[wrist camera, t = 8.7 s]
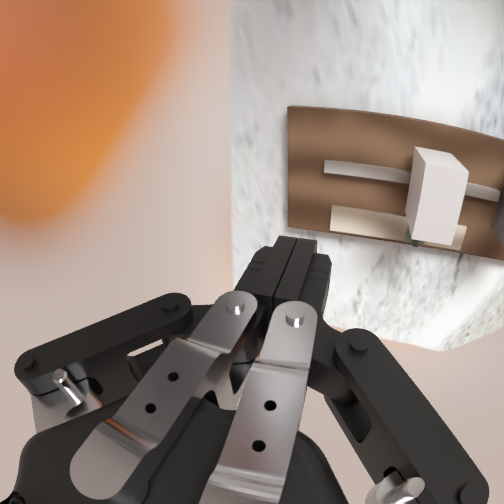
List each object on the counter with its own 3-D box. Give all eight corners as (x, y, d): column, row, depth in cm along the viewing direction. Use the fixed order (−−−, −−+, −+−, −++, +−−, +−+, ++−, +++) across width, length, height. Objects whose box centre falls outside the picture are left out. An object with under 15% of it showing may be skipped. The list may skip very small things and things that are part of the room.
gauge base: (290, 105, 30) (271, 114, 24) (540, 152, 21) (572, 174, 15) (290, 221, 38) (274, 254, 32) (511, 256, 29) (530, 292, 23)
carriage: (414, 145, 26) (425, 162, 21) (450, 152, 25) (469, 171, 20) (398, 242, 32) (402, 275, 27) (430, 247, 31) (439, 281, 26)
